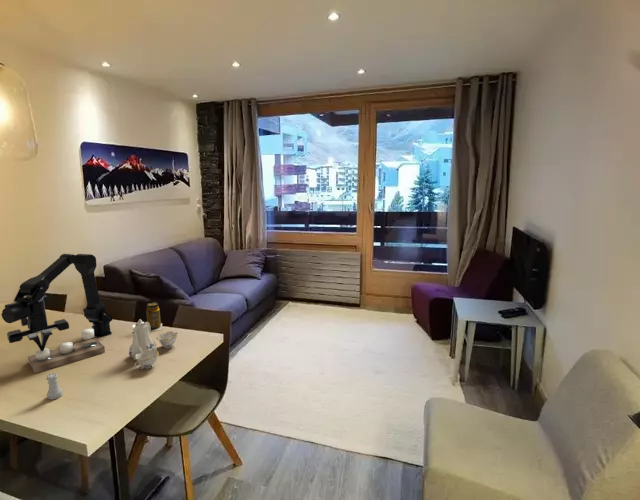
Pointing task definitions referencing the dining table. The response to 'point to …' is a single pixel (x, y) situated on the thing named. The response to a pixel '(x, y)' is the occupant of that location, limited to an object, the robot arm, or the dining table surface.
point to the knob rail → (67, 355)
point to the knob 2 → (87, 333)
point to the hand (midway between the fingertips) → (42, 350)
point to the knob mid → (66, 347)
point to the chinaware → (148, 344)
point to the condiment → (153, 316)
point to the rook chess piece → (53, 387)
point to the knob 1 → (42, 354)
